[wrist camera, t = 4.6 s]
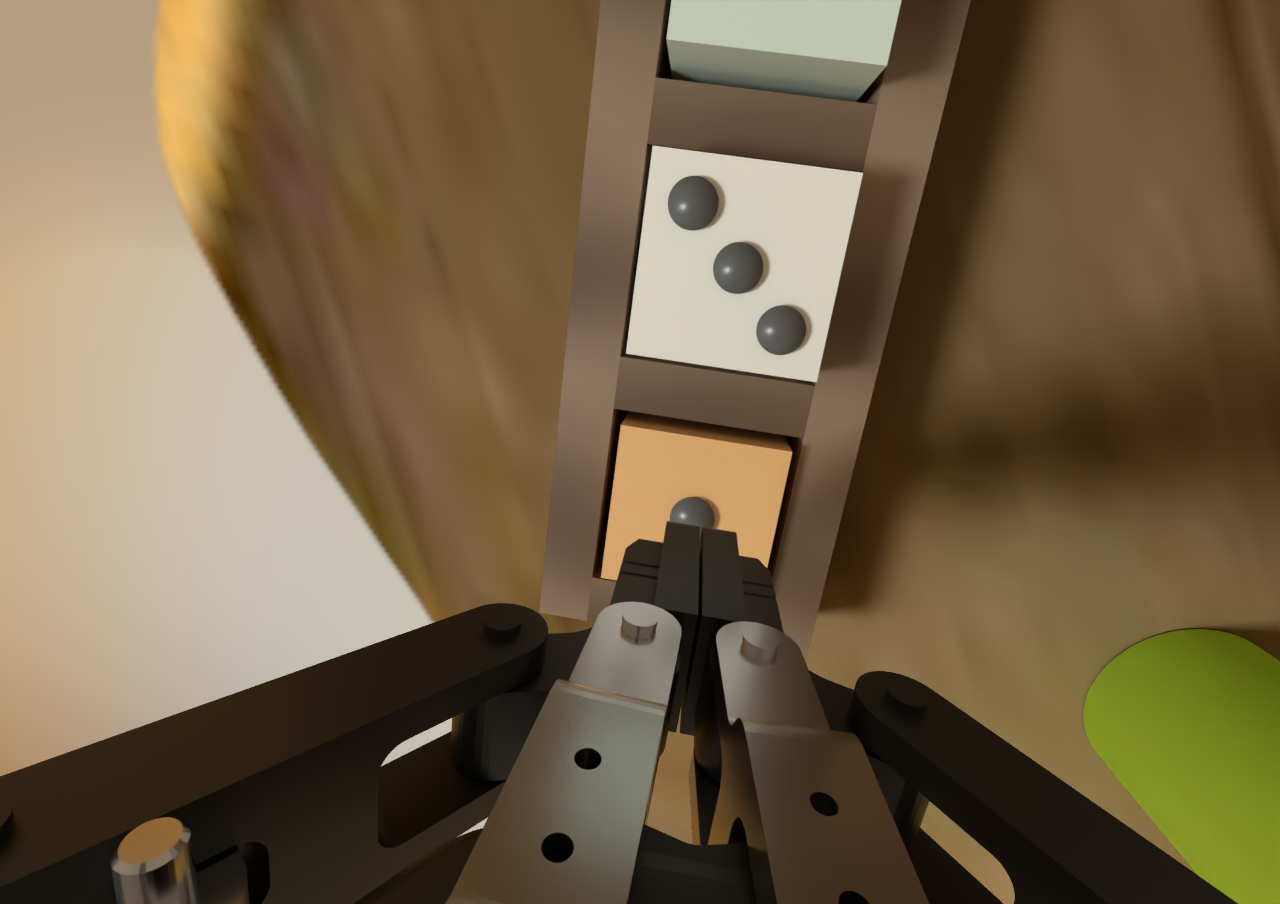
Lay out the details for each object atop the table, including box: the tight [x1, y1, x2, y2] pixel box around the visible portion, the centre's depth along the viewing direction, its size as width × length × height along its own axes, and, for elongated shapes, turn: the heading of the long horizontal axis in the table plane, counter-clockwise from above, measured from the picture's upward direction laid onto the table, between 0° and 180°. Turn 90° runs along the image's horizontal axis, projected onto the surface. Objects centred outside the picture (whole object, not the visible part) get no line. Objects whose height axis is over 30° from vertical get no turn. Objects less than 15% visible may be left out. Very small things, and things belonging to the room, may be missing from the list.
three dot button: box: [626, 146, 863, 382], centre depth 15 cm, size 4×4×3 cm
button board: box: [539, 0, 971, 659], centre depth 16 cm, size 21×8×2 cm, turn 172°
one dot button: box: [601, 411, 792, 580], centre depth 18 cm, size 4×4×3 cm
